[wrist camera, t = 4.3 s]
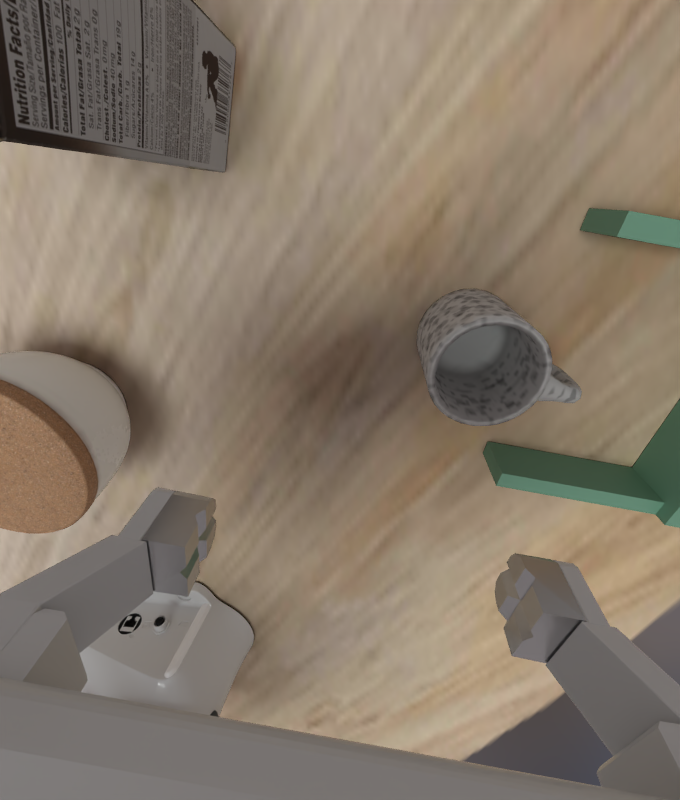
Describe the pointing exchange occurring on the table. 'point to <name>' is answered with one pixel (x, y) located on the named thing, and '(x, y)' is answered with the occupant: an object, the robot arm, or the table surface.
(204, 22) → the brown food box
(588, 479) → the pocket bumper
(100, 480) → the lidded bowl
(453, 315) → the mug
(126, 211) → the table surface
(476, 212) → the table surface
